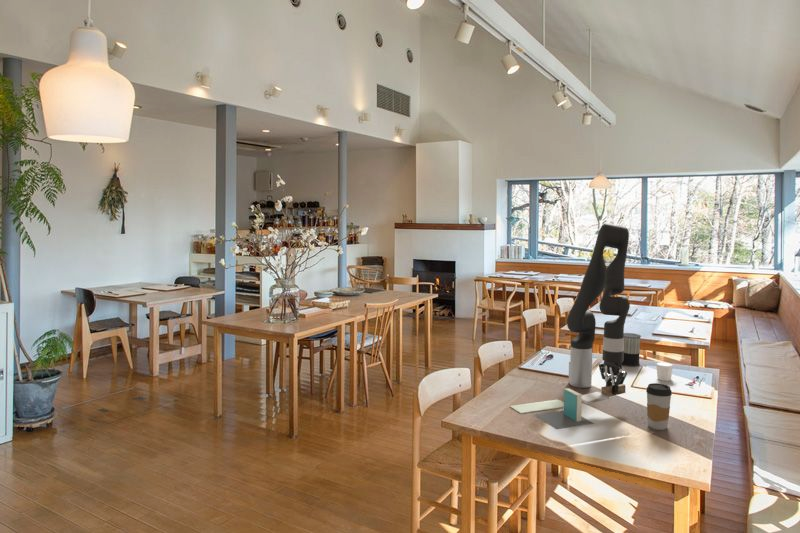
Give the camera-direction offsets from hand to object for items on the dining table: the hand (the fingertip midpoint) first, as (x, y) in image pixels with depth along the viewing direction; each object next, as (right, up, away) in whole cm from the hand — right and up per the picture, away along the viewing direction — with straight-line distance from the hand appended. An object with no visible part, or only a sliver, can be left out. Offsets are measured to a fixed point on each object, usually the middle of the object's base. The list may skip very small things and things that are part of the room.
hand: (611, 392), depth 220 cm
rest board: (-26, -8, +7) cm, 28 cm away
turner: (-4, -1, -1) cm, 4 cm away
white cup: (+40, -3, +43) cm, 59 cm away
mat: (-20, -9, -6) cm, 23 cm away
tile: (-17, -8, -5) cm, 19 cm away
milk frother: (+30, -1, +67) cm, 73 cm away
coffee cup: (+12, -10, -13) cm, 20 cm away
